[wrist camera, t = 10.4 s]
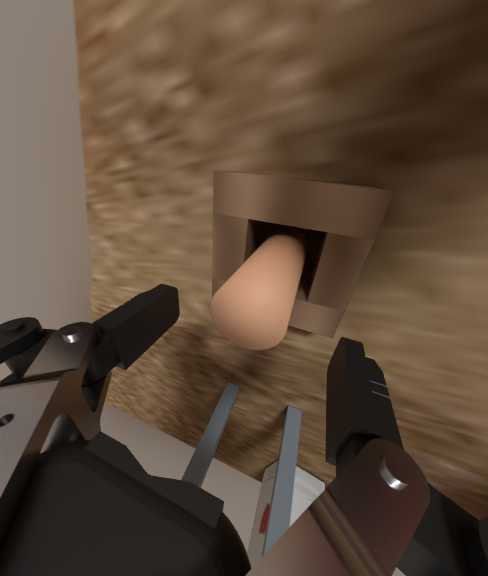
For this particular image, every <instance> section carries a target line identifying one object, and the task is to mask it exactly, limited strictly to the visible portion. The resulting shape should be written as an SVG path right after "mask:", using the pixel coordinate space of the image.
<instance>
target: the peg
mask: <svg viewBox="0 0 488 576" xmlns="http://www.w3.org/2000/svg"><path fill="white" fill-rule="evenodd" d="M307 250H308V244H307V240H306V238H305V236H304V235H303V234H302V233H301V232H300V231H299V230H297V229H294V228H291V227H283V228H279V229H277V230H276V231H274V232H273V233H272V234H271V235H270V236H269V237H268V238H267V239H266V240H265V241H264V242H263V244H262V245H261V246H260V247H259V248H258V249H257V250H256V251H255V252H254V253H253V254H252V255H251V256H250V257H249V258H248V259H247V260H246V261H245V262H244V264H243V265H242V266H241V267H240V268H239V269H238V270H237V271H236V272H235V273H234V274H233V275H232V276H231V277H230V278H229V279H228V280H227V281H226V283H225V284H224V285H223V286H222V287H221V288H220V289H219V290H218V291H217V292H216V293H215V295H214V296H213V298H212V301H211V306H210V311H211V317H212V320H213V322H214V324H215V326H216V327H217V329H218V330H219V332H220V333H221V334H222V335H223V336H224V337H225V338H227V339H228V340H229V341H231V342H232V343H234V344H236V345H238V346H240V347H243V348H246V349H251V350H265V349H269V348H272V347H274V346H275V345H277V344H278V343H279V342H281V340H282V339H283V338H284V336H285V333H286V331H287V327H288V323H289V319H290V315H291V312H292V308H293V304H294V300H295V296H296V292H297V289H298V285H299V281H300V277H301V273H302V270H303V266H304V262H305V258H306V254H307Z"/></svg>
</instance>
